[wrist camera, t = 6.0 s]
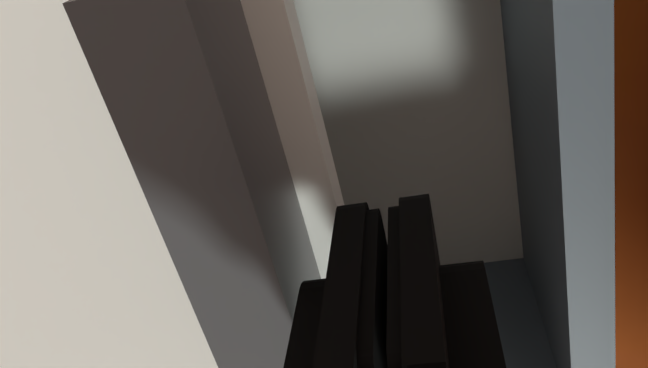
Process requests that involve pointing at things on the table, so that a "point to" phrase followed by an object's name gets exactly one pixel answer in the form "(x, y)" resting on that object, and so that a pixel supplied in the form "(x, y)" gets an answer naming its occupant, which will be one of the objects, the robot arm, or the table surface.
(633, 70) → the table surface
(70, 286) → the lid
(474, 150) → the box
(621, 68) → the table surface
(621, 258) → the table surface
